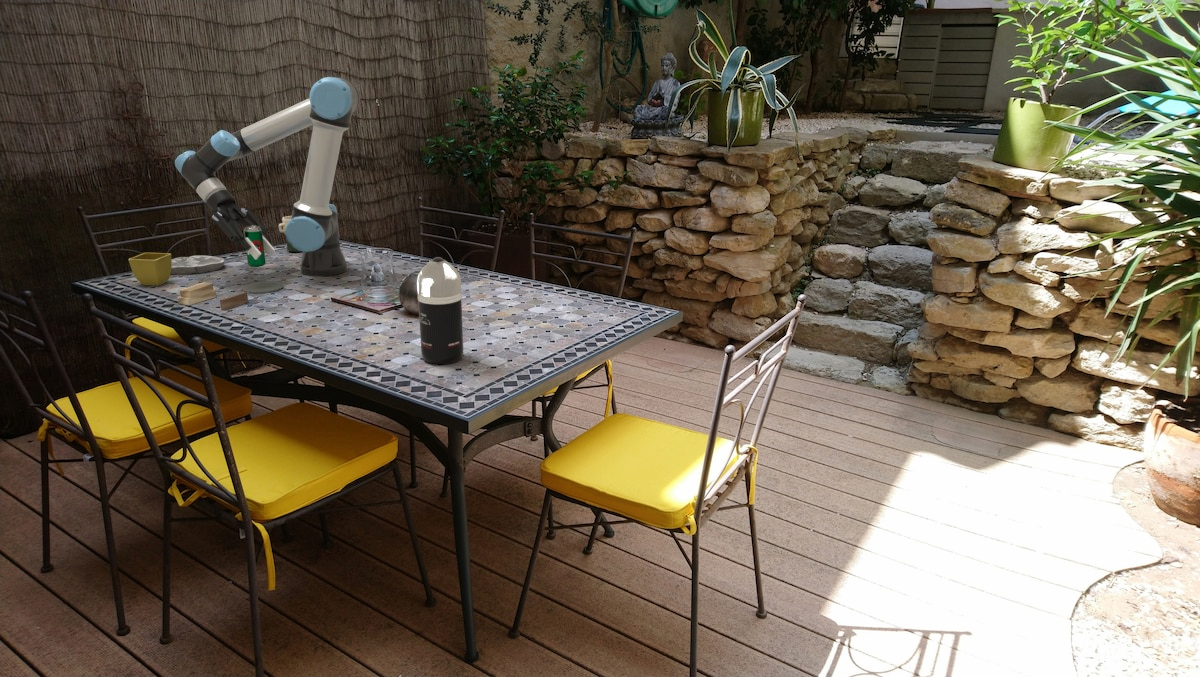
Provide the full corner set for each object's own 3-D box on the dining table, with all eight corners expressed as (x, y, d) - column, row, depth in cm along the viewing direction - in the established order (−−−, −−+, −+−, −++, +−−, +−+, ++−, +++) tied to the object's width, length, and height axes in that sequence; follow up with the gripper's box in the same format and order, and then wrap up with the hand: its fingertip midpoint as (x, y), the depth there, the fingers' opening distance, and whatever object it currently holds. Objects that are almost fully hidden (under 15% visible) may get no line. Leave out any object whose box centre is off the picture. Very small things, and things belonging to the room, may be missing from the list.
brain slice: (219, 261, 263) (218, 253, 262) (228, 271, 250) (227, 263, 249) (156, 268, 252) (155, 259, 251) (163, 279, 239) (161, 270, 238)
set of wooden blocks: (177, 303, 213) (175, 290, 212) (205, 294, 222) (203, 282, 221) (222, 310, 208) (220, 297, 207) (249, 301, 217) (247, 288, 216)
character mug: (305, 247, 285) (301, 214, 281) (314, 251, 280) (310, 217, 276) (277, 251, 278) (273, 217, 273) (286, 255, 273) (282, 220, 269)
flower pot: (160, 288, 228) (155, 259, 225) (132, 287, 228) (127, 258, 225) (176, 280, 236) (171, 253, 233) (149, 279, 237) (144, 252, 234)
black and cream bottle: (438, 369, 171) (432, 264, 163) (412, 358, 177) (406, 256, 169) (473, 358, 178) (469, 257, 170) (447, 347, 184) (442, 250, 176)
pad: (287, 282, 237) (287, 280, 237) (278, 292, 226) (278, 291, 226) (247, 283, 235) (247, 281, 235) (237, 293, 224) (236, 291, 224)
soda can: (269, 264, 230) (265, 226, 226) (257, 268, 225) (252, 229, 221) (256, 262, 231) (252, 224, 227) (244, 266, 227) (239, 227, 223)
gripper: (233, 200, 235) (280, 256, 236) (186, 208, 219) (236, 268, 220) (244, 185, 232) (292, 241, 232) (197, 192, 216) (248, 253, 216)
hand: (265, 254), depth 226 cm, fingers closed on soda can, 5 cm apart
